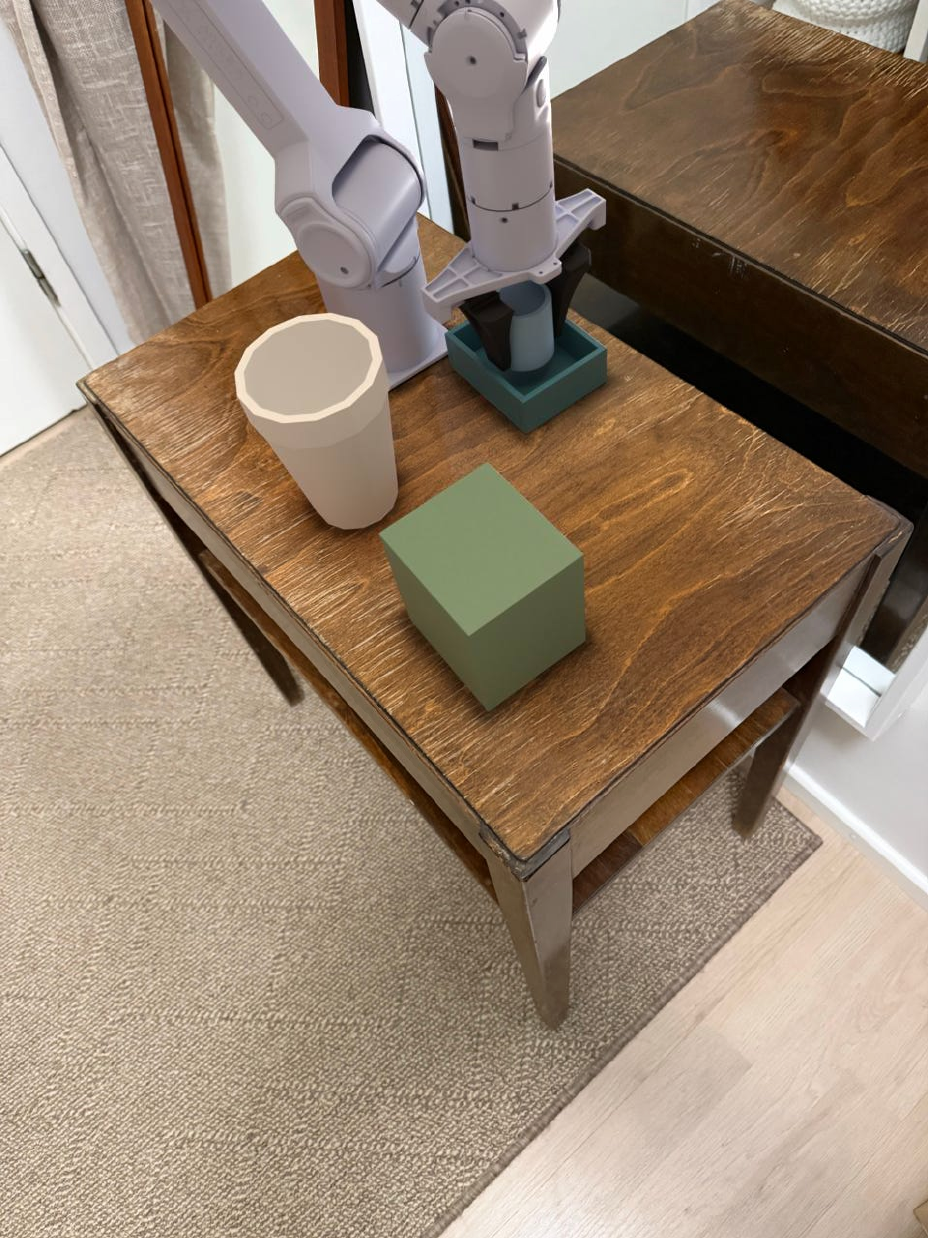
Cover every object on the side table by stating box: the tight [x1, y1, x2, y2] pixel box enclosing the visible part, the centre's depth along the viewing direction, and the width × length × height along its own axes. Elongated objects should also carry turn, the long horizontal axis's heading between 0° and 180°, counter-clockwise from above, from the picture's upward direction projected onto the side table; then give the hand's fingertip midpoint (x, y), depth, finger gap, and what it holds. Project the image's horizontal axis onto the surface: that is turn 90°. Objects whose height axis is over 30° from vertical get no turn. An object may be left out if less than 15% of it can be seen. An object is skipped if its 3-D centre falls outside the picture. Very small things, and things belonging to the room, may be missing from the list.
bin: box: [444, 316, 608, 435], centre depth 68 cm, size 10×8×3 cm
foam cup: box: [234, 312, 399, 530], centre depth 60 cm, size 10×9×13 cm
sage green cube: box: [378, 461, 587, 713], centre depth 54 cm, size 9×8×10 cm
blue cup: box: [495, 280, 554, 371], centre depth 66 cm, size 4×4×5 cm
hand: (524, 346), depth 67 cm, fingers closed on blue cup, 4 cm apart
